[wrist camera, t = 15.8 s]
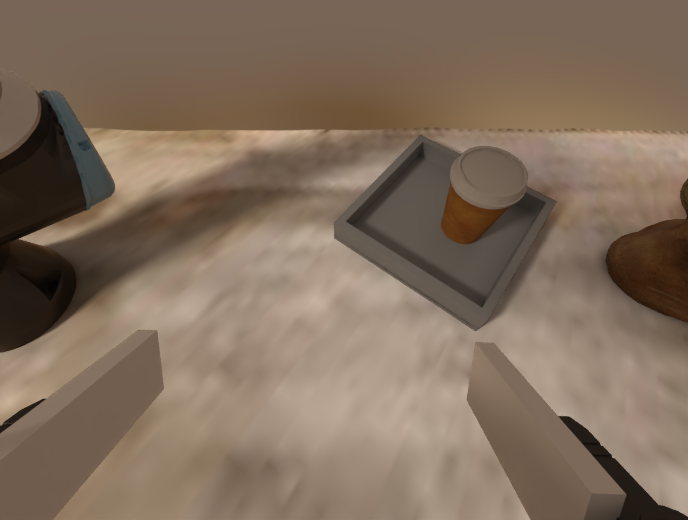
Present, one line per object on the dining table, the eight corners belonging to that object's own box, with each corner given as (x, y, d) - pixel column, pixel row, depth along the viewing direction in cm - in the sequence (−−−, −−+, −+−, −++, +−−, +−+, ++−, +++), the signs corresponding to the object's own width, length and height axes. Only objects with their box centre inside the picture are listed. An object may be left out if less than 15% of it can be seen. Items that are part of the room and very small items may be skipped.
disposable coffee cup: (505, 236, 50) (549, 180, 40) (457, 264, 48) (490, 211, 37) (464, 195, 54) (493, 134, 44) (417, 218, 52) (437, 160, 41)
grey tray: (334, 238, 51) (333, 222, 47) (416, 153, 60) (420, 134, 57) (475, 331, 44) (487, 320, 40) (542, 217, 53) (556, 201, 50)
